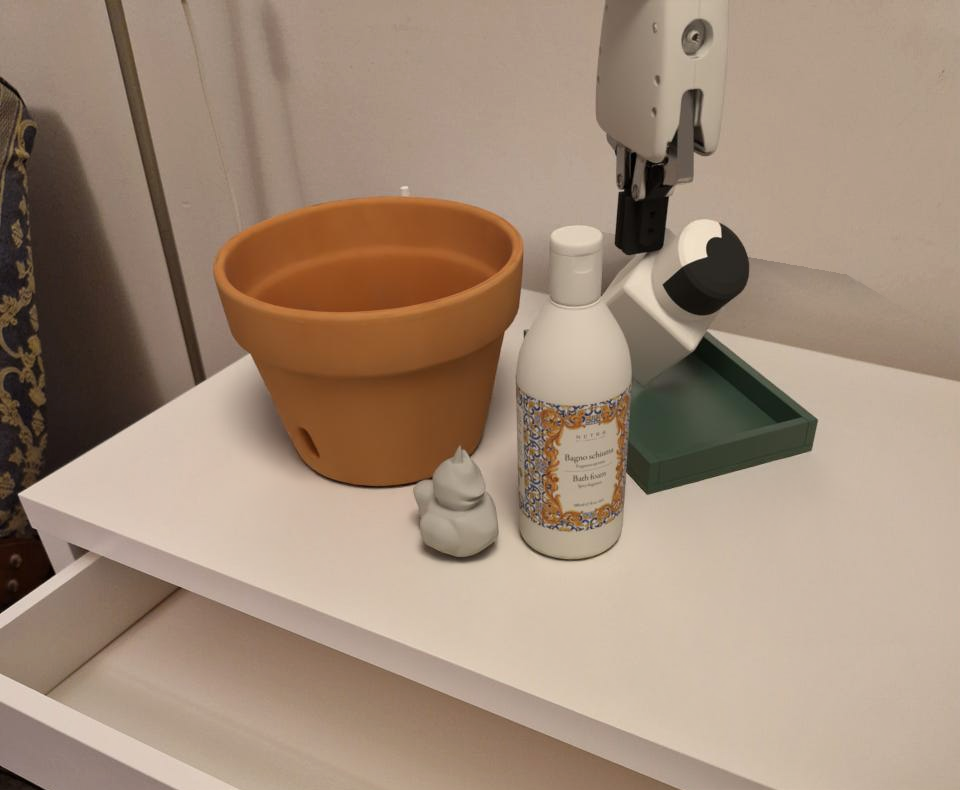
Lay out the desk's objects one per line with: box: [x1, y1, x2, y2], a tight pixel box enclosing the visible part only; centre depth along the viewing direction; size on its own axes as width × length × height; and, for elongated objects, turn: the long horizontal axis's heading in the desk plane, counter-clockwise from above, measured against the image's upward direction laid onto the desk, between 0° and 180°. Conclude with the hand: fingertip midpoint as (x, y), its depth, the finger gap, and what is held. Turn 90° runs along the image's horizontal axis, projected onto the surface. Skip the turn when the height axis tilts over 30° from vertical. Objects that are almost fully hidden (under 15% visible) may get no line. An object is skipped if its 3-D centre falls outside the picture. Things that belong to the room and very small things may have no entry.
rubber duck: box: [412, 446, 500, 558], centre depth 65 cm, size 5×7×8 cm
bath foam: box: [515, 224, 632, 560], centre depth 61 cm, size 7×7×20 cm
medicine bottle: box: [601, 218, 750, 386], centre depth 76 cm, size 7×7×12 cm
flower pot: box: [212, 195, 525, 487], centre depth 73 cm, size 21×21×15 cm
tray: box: [523, 328, 819, 495], centre depth 79 cm, size 14×23×3 cm, turn 21°
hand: (638, 248), depth 74 cm, fingers closed
